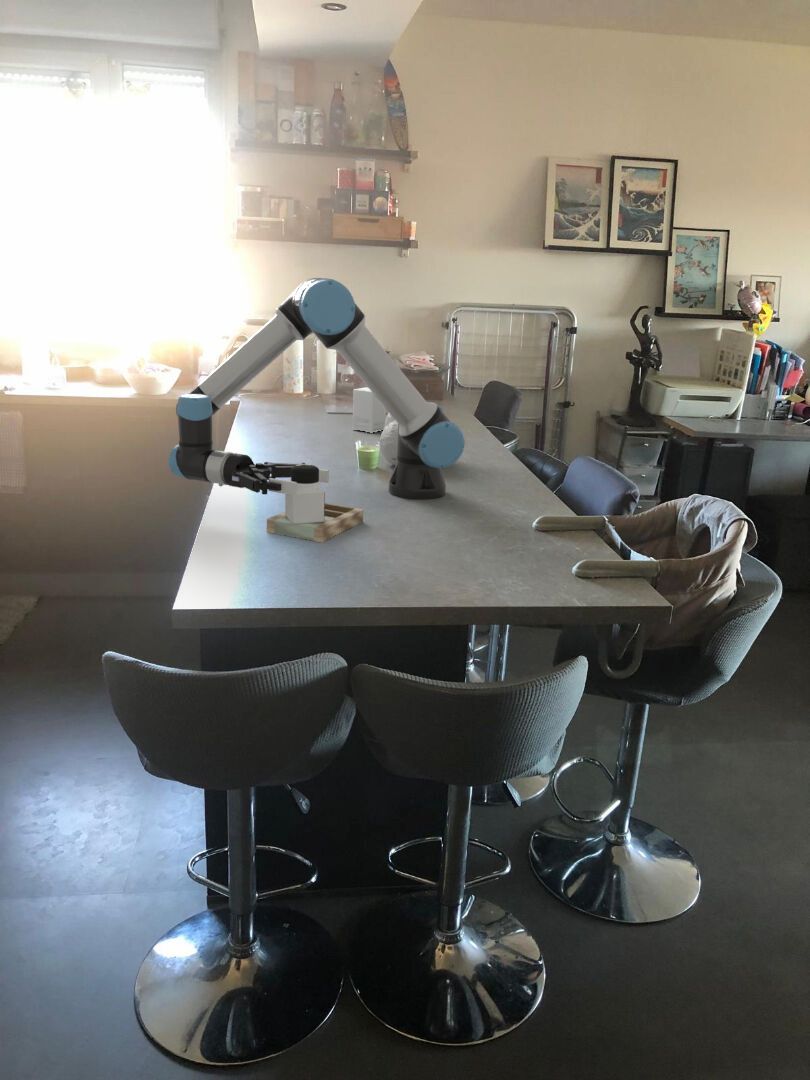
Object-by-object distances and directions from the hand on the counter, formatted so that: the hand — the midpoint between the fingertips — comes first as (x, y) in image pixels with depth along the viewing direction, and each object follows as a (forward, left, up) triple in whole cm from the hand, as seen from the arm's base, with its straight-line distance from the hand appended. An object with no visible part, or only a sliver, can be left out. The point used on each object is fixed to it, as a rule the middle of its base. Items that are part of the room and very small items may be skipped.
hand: (312, 482), depth 188 cm
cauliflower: (-80, -13, -12) cm, 82 cm away
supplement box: (-120, -48, -12) cm, 130 cm away
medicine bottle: (0, -2, -9) cm, 9 cm away
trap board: (-5, -2, -12) cm, 13 cm away
